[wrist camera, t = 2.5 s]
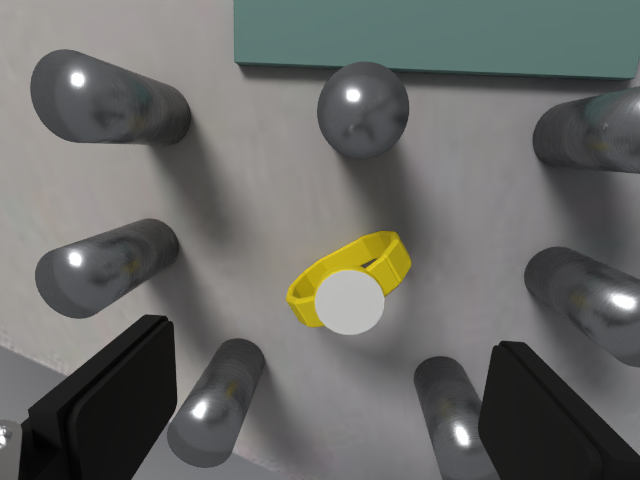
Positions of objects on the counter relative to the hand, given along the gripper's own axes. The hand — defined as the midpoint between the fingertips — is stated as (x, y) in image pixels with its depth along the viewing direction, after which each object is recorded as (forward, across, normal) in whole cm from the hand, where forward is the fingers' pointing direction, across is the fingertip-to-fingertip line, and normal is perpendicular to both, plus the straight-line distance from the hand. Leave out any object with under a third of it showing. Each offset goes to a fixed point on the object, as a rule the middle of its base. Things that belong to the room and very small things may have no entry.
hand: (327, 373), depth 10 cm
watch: (+10, -1, -1) cm, 10 cm away
